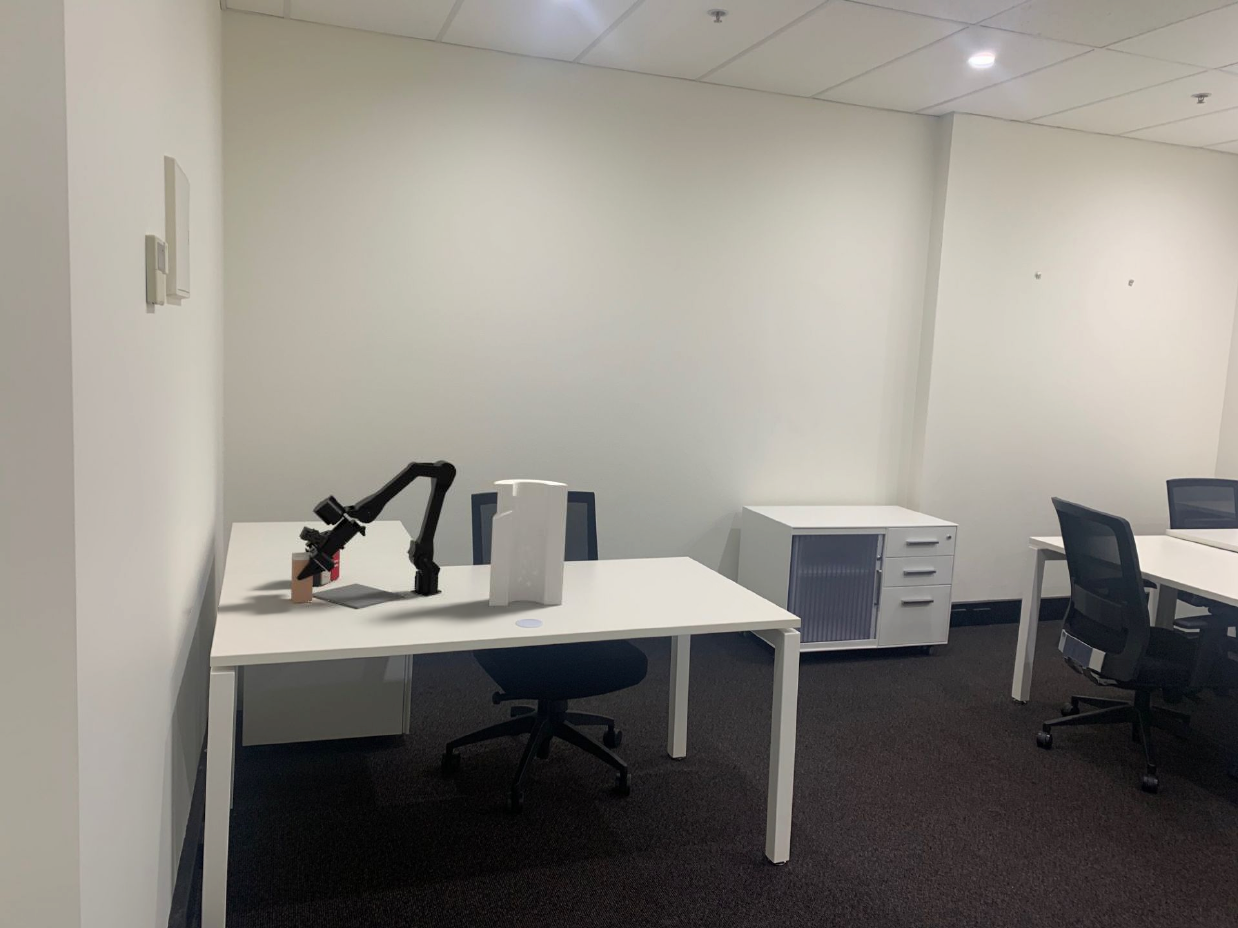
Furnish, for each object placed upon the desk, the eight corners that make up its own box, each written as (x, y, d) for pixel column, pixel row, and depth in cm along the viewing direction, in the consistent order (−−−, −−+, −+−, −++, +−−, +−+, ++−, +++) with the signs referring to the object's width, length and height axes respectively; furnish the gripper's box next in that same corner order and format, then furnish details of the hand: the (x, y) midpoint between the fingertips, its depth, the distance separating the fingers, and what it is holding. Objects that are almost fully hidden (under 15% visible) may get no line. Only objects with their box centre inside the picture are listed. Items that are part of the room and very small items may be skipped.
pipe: (562, 605, 255) (489, 606, 249) (554, 595, 266) (484, 596, 260) (568, 485, 251) (494, 484, 245) (560, 480, 262) (489, 478, 256)
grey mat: (403, 597, 254) (404, 595, 254) (357, 608, 239) (358, 607, 239) (356, 584, 264) (356, 583, 264) (309, 595, 250) (309, 593, 250)
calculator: (321, 587, 260) (322, 537, 258) (308, 585, 261) (309, 535, 259) (340, 578, 270) (341, 530, 269) (327, 577, 271) (329, 529, 270)
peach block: (310, 597, 248) (310, 551, 246) (312, 601, 244) (313, 555, 242) (291, 598, 246) (292, 552, 244) (293, 603, 241) (293, 556, 240)
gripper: (313, 511, 252) (272, 550, 249) (322, 522, 236) (278, 565, 232) (341, 537, 257) (301, 576, 253) (352, 550, 240) (309, 592, 236)
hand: (296, 577), depth 243 cm, fingers closed on peach block, 5 cm apart
